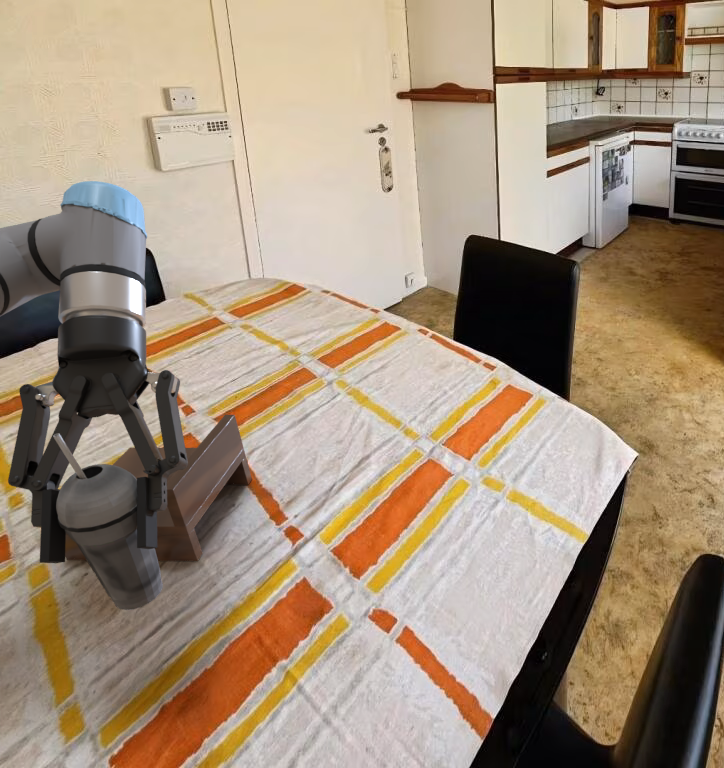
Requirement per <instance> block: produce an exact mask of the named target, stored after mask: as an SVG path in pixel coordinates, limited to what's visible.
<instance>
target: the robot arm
mask: <svg viewBox="0 0 724 768" xmlns="http://www.w3.org/2000/svg"><path fill="white" fill-rule="evenodd" d="M60 208H61V211H60V212H59V213H55V214H52V215H48V216H45V217H42V218H38V219H35V220H32V221H27V222H22V223H18V224H14V225H13V224H12V225H8V226H4V227H0V317H2V316H4V315H5V314H8V313H10V312H11V311H13V310H15V309H17V308H19V307H21V306H23V305H24V304H26V303H28V302H29V301H32V300H34V299H35V298H37V297H40V296H43V295H47V294H51V293H54V292H58V291H59V300H58V301H59V302H58V317H57V318H58V320H59V322H60V323H61V324H60V325H59V326H58V329H57V330H58V331H57V354H56V355H57V363H58V364H57V365H58V369H57V372H56V373H55V375H54V376H53V378H52V381H49V382H46V383H42V384H39V385H35V386H34V385H32V384H30V383H25V384H23V385H21V386H20V388H19V391H18V392H19V397H20V401H21V406H22V410H21V414H20V420H19V424H18V429H17V434H16V439H15V443H14V449H13V454H12V459H11V463H10V468H9V474H8V479H7V483H8V484H9V486H11V487H14V488H18V489H23V490H28V491H29V492H30V493H31V517H30V522H31V525H32V527H33V528H40V545H39V564H41V563H42V564H61V563H65V562H66V557H65V543H66V531H65V529H63V528H61V527H60V525H59V522H58V514H57V509H56V503H57V498H58V494H59V491H60V489H61V488H59V487H60V485H61V482H62V480H63V478H64V476H65V473H66V471H67V469H68V467H69V465H70V463H69V461H68V459H67V458H66V456H65V455H64V453H63V451H62V450H61V448H60V447H59V445H58V443H57V442H56V440H55V439H54V437H53V436H54V435H55V434H58V433H59V434H60V435H61V437H62V439H63V440H64V442H65V443H66V445H67V447H68V448H69V450H70V451H71V453H72V455H73V456H74V453H75V451H76V449H77V447H78V445H79V442H80V440H81V438H82V435H83V433H84V431H85V429H87V428H88V427H89V426H90V424H91V422H92V419H94V418H101V417H104V416H106V415H113V416H119V417H120V419H121V421H122V423H123V425H124V428H125V430H126V432H127V434H128V436H129V438H130V440H131V442H132V444H133V448H135V449H136V451H137V453H138V456H139V458H140V460H141V462H142V464H143V466H144V468H145V470H144V471H143V472H144V473H146V474H148V477H139V478H137V548H143V549H153V548H157V512H158V511H165V510H166V507H167V478H168V477H169V475H170V474H172V473H174V472H176V471H178V470H183V469H185V468H186V467H187V465H188V461H187V455H186V449H185V448H186V443H185V438H184V432H183V427H182V421H181V417H180V409H179V404H178V403H179V402H178V396H179V390H180V386H181V380H180V378H179V377H177V376H176V375H175V374H174V373H173V372H171V371H170V370H168V369H164V370H161V371H160V372H156V371H155V372H153V371H150V370H149V369H148V366H147V331H146V329H145V328H144V327H145V326H146V324H147V289H146V282H145V278H146V277H145V276H146V275H145V273H146V256H147V255H146V252H147V239H148V232H147V231H146V223H145V208H144V205H143V204H142V202H141V200H140V199H139V198H138V197H137V196H136V195H134V194H133V193H131V192H130V191H129V190H128V189H126V188H124V187H121V186H120V185H116V184H113V183H111V182H110V183H109V182H106V181H105V182H104V181H99V180H98V181H96V180H94V181H93V180H86V181H85V180H84V181H80V182H75V183H74V184H72V185H70V186H69V187H68V188H67V189H66V191H64V193H63V196H62V202H61V203H60ZM149 385H150V389H151V391H152V392H154V393H155V394H154V395H155V403H156V409H157V415H158V421H159V428H160V433H161V434H160V435H161V437H162V438H161V440H162V446H163V448H164V452H165V459H163V458H162V456H161V454H160V452H159V450H158V448H159V447H158V446H157V444H156V441H155V438H154V437H153V435H152V433H151V430H150V429H149V426H148V425H147V422H146V420H145V415H144V413H143V411H142V408H141V406H140V404H139V402H138V399H139V398H140V397H141V396H142V394H143V393H144V392H145V390H146V389H147V387H148V386H149ZM57 395H59V396H60V397H61V398H62V399H63V400H64V401H63V404H62V406H61V407H60V410H59V412H58V416H57V417H58V421H57V424H56V426H55V428H54V430H53V433H52V435H51V437H50V439H49V441H48V443H47V446H46V448H45V445H46V441H47V434H48V429H49V424H50V420H51V407H53V406H54V405H55V398H56V396H57Z"/></svg>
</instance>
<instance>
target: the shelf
mask: <svg viewBox="0 0 724 768" xmlns="http://www.w3.org/2000/svg"><path fill="white" fill-rule="evenodd" d="M185 449H186V455H187V461H188V465H187V467H186V468H185V469H183V470H178V471H176V472H174V473H172V474H170V475H169V477H168V478H167V507H166V510H165V511H158V512H157V548H155V550H156V555H157V559H158V562H199V560H200V559H201V557H202V556H203V554H204V552H203V550H202V547H201V543H200V541H199V538H198V535H197V532H196V529H195V527H196V526H197V525H198V523H199V522H200V521H201V520H202V518H203V516H204V515H205V513H207V511H208V510H209V508H210V506H211V505H212V504H213V502H214V501H215V500H216V498H217V497H218V495H219V494H220V492H221V491H222V490H223V489H224V486H249V484H251V482H252V480H253V478H252V474H251V469H250V466H249V463H248V459H247V456H246V452H245V451H246V450H245V447H244V444H243V439H242V436H241V433H240V429H239V426H238V422H237V417H236V414H224V415H223V417H222V418H221V419H219V420H218V422H217V424H215V426H214V427H213V428H212V429H211V430H210V431H209V433H208V434H207V435H206V436H205V438H204V439H202V440H201V442H200V444H198V446H197V447H185ZM158 450H159V452H160V454H161V456H162V458H163V459H165V452H164V447H158ZM112 465H115V466H118V467H120V468H123V469H125V470H127V471H128V472H130V473H131V474H132V475H133V476H134V477H135V478H136V479H137V478H139V477H148V474H146V473H144V472H143V471H144V470H145V468H144V466H143V464H142V462H141V460H140V458H139V456H138V453H137V451H136V449H135V447H129V448H128V449H127V450H126V451H125V452H124V453H123V454H122V455H121V456H120V457H119V458H118V459H117V460H116V461H115V462H114V463H113V464H112ZM65 560H67V561H87V560H86V558H85V557H84V555H83V553H82V552H81V550H80V548H79V547H78V545H77V544H76V542H74V541H73V540H72V539H71V538H70V537H69V535H68V534H67V533H66V543H65Z"/></svg>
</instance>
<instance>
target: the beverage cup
mask: <svg viewBox="0 0 724 768" xmlns="http://www.w3.org/2000/svg"><path fill="white" fill-rule="evenodd" d="M53 437H54V439H55V440H56V442H57V443H58V445H59V447H60V448H61V450H62V451H63V453H64V455H65V456H66V458H67V459H68V461H69V465H70V466H71V467H72V469H73V471H74V473H73V474H71V475H70V476H69V477H68V478H67V479H66V480H65V481H64V483H63V484H62V485H61V487H60V488H59V489H60V491H59V494H58V498H57V503H56V509H57V514H58V522H59V525H60V527H61V528H63V529H65V531H66V533H67V534H68V535H69V537H70V538H71V539H72V540H73V541H74V542H76V544H77V545H78V547H79V548H80V550H81V552H82V553H83V555H84V557H85V558H86V560H85V561H86V562H87V563H88V565H89V566H90V568H91V570H92V572H93V573H94V575H95V576H96V578H97V579H98V582H99V583H100V585H101V586H102V589H104V591H105V593H106V594H107V596H108V598H110V600H111V601H112V602H113V603H114V605H115V607H116V608H118V609H119V610H123V611H132V610H137V609H139V608H142V607H144V606H147V605H148V604H151V603H152V602H153V601H154V600H156V598H158V596H159V595H160V594H161V592H162V590H163V587H164V586H163V581H162V575H161V573H162V571H161V567H160V564H159V561H158V559H157V555H156V550H155V548H153V549H143V548H137V479H136V478H135V477H134V476H133V475H132V474H131V473H130V472H128V471H127V470H125V469H123V468H120V467H118V466H115V465H113V464H109V463H99V464H92V465H87V466H85V467H81V466H80V465H79V463H78V461H77V459H76V458H75V456H74V454H73V455H72V453H71V451H70V450H69V448H68V447H67V445H66V443H65V442H64V440H63V439H62V437H61V435H60V434H59V433H58V434H55V435H54V436H53Z"/></svg>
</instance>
